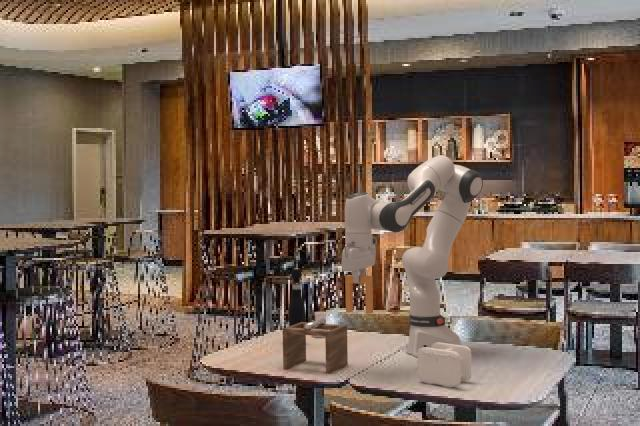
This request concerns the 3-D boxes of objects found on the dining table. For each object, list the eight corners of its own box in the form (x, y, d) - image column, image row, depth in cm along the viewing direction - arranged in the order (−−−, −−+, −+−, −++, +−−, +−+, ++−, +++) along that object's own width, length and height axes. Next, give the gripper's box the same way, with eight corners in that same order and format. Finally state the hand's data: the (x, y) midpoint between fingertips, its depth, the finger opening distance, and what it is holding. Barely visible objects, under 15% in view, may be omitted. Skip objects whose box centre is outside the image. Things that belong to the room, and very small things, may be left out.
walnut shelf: (347, 365, 289) (347, 325, 289) (329, 373, 277) (329, 332, 276) (302, 360, 298) (301, 321, 297) (283, 368, 285) (282, 328, 284)
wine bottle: (303, 347, 320) (302, 270, 318) (287, 347, 321) (286, 270, 320) (307, 344, 326) (306, 268, 325) (291, 343, 327) (290, 268, 326)
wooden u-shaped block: (373, 312, 278) (372, 275, 277) (370, 313, 275) (369, 276, 275) (348, 311, 282) (348, 274, 281) (345, 312, 280) (345, 275, 279)
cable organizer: (474, 383, 262) (474, 347, 261) (457, 390, 254) (456, 352, 253) (434, 376, 272) (433, 341, 271) (416, 382, 264) (415, 346, 263)
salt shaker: (309, 338, 338) (309, 313, 338) (314, 334, 346) (313, 310, 345) (327, 338, 337) (327, 314, 336) (331, 335, 344) (331, 311, 344)
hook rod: (326, 324, 292) (325, 318, 292) (308, 330, 280) (308, 324, 280) (321, 323, 293) (320, 318, 293) (303, 330, 281) (303, 324, 281)
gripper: (353, 243, 267) (354, 286, 267) (378, 238, 285) (379, 278, 286) (336, 243, 270) (337, 285, 270) (362, 238, 288) (362, 277, 288)
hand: (359, 282), depth 278 cm, fingers closed on wooden u-shaped block, 2 cm apart
